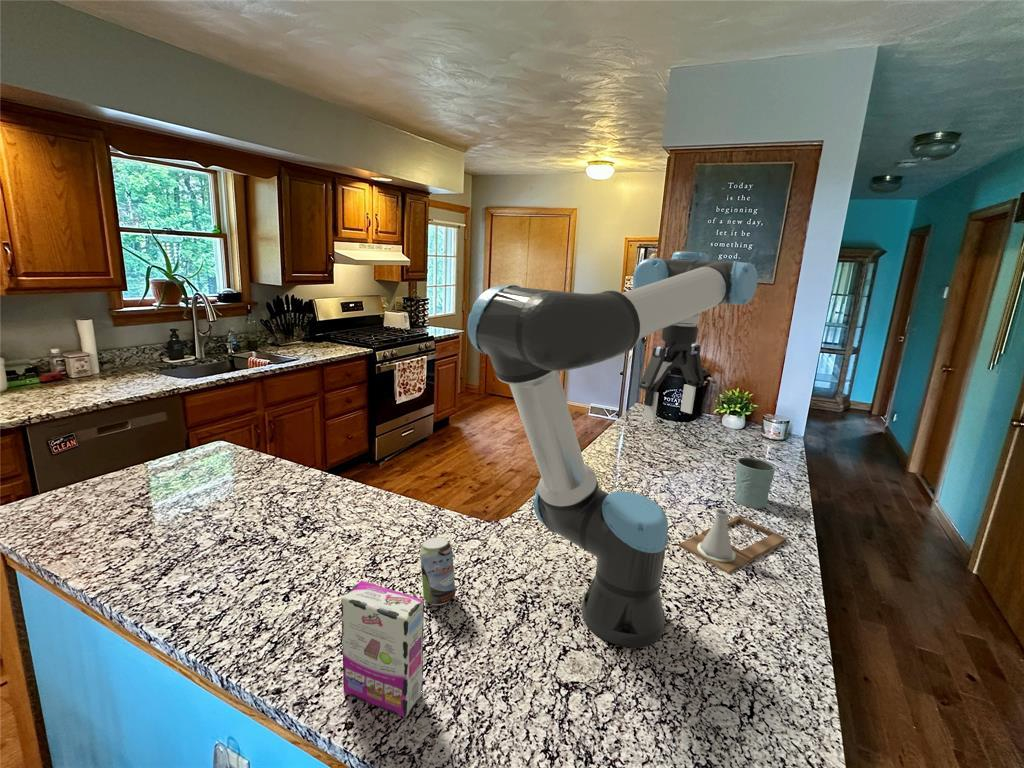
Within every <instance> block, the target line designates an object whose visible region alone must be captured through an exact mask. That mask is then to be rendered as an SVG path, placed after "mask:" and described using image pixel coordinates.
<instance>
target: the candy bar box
mask: <svg viewBox="0 0 1024 768" xmlns="http://www.w3.org/2000/svg"><path fill="white" fill-rule="evenodd" d="M340 601H341V606H340V607H341V637H342V638H341V640H342V641H341V642H342V643H341V644H342V674H343V675H342V677H343V678H342V681H343V684H342V685H343V687H342V688H343V693H345V694H346V695H349V696H350V697H353V698H356V699H358V700H361V701H363V702H365V703H368V704H371V705H373V706H376V707H379V708H380V709H383V710H385V711H388V712H390V713H392V714H395V715H396V716H397V715H398V716H399V717H402V718H405V719H406V718H407V717H408V715H409V714H410V713H411V712H412V710H413V708H414V707H415V705H416V704H417V703H418V702H419V700H420V698H421V697H422V696H423V689H424V688H423V684H424V683H423V682H424V681H423V680H424V679H423V678H424V677H423V676H424V675H423V673H424V630H425V629H424V626H425V625H424V624H425V623H424V621H425V617H424V616H425V614H424V613H425V600H424V598H423V599H422V598H420V597H416V596H413V595H410V594H406V593H402V592H399V591H396V590H393V589H390V588H387V587H384V586H381V585H378V584H374V583H371V582H368V581H366V580H360V581H359V582H358V583H357V584H355V586H353V587H352V588H351V589H350V590H349V591H348V592H346V593H345V594H344V595H343V596H342V597H341V598H340ZM421 691H422V692H421Z"/></svg>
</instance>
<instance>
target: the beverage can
mask: <svg viewBox="0 0 1024 768" xmlns="http://www.w3.org/2000/svg"><path fill="white" fill-rule="evenodd" d="M419 557H420V558H419V559H420V568H421V579H422V580H421V581H422V582H421V583H422V594H423V600H424V599H425V600H426V601H427V602H426V601H425V600H424V601H425V602H426V603H428V602H429V603H428V604H430V603H431V604H430V605H432V606H442V605H446V604H447V603H449V602H450V601H452V600H453V599H454V598H455V595H456V585H455V583H456V582H455V569H454V558H453V547H452V544H451V543H450V542H449V539H448V538H447V537H443V536H434V537H430V538H427V539H425V540H424V541H423V542H422V546H421V547H420V550H419Z"/></svg>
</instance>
